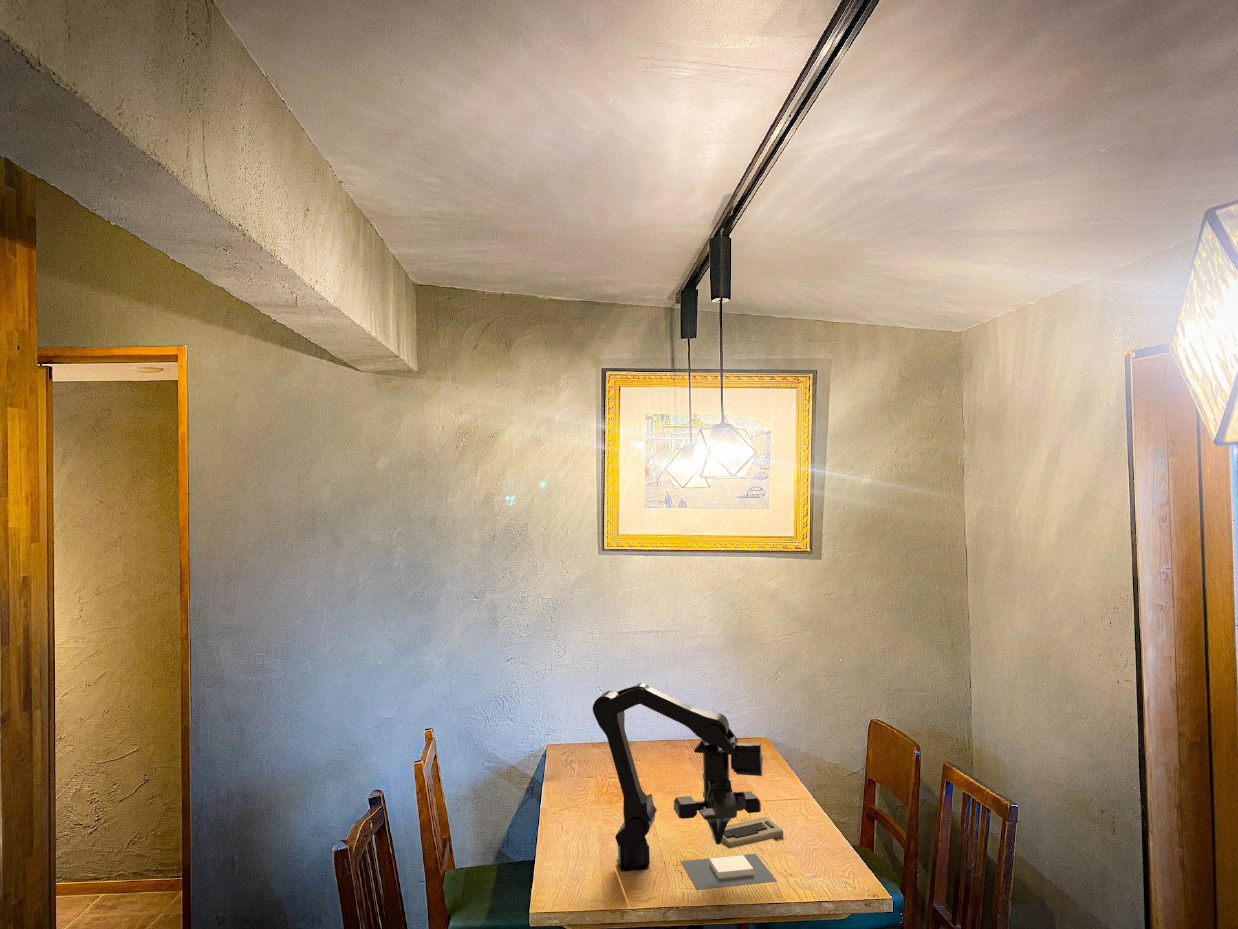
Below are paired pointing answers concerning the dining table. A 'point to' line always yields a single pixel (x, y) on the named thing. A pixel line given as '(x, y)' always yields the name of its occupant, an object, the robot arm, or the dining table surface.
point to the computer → (750, 832)
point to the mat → (707, 879)
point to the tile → (731, 867)
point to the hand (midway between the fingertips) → (717, 844)
